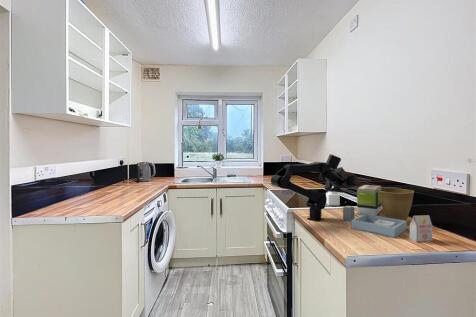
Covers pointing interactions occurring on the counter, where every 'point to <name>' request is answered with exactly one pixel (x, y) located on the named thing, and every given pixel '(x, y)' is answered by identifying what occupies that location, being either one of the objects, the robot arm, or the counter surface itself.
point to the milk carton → (421, 229)
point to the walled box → (368, 225)
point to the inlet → (385, 223)
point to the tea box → (368, 200)
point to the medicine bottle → (333, 198)
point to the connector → (348, 213)
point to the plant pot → (396, 202)
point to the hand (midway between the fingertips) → (349, 190)
